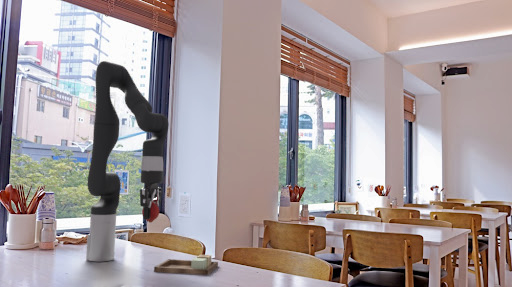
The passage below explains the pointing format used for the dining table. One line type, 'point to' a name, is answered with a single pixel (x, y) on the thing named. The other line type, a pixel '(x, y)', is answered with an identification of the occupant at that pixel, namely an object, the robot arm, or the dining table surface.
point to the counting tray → (183, 267)
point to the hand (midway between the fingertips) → (150, 217)
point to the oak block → (206, 258)
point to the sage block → (199, 263)
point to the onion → (152, 212)
